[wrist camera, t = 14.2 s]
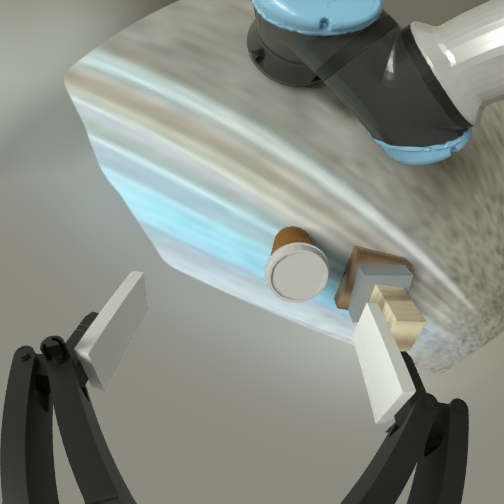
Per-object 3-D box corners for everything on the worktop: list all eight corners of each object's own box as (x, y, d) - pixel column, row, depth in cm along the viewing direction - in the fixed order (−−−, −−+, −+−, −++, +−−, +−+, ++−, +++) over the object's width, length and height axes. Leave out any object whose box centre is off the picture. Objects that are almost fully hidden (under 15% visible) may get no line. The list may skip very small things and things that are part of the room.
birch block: (375, 283, 43) (397, 320, 34) (402, 287, 43) (426, 321, 34) (363, 311, 46) (380, 350, 37) (390, 313, 46) (409, 350, 37)
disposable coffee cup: (253, 240, 49) (250, 274, 38) (296, 206, 46) (305, 232, 35) (287, 275, 52) (292, 315, 41) (328, 245, 49) (344, 280, 38)
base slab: (353, 244, 49) (360, 253, 45) (403, 256, 49) (412, 265, 46) (333, 296, 54) (337, 308, 51) (381, 304, 55) (387, 315, 51)
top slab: (358, 264, 46) (364, 275, 43) (404, 264, 46) (413, 275, 42) (347, 309, 51) (352, 322, 47) (391, 307, 50) (398, 319, 47)
